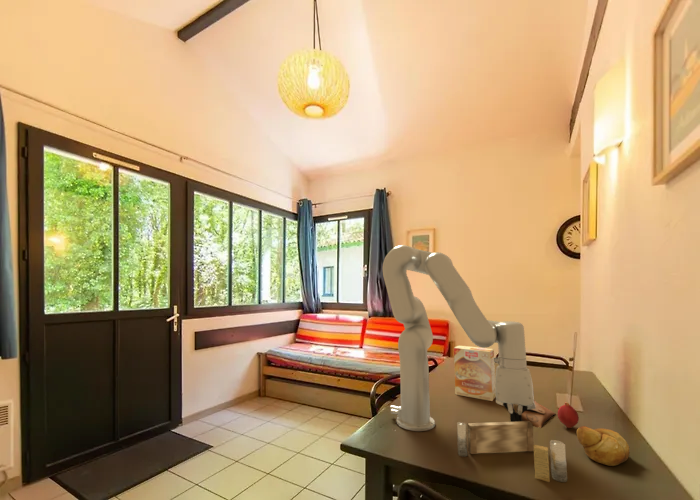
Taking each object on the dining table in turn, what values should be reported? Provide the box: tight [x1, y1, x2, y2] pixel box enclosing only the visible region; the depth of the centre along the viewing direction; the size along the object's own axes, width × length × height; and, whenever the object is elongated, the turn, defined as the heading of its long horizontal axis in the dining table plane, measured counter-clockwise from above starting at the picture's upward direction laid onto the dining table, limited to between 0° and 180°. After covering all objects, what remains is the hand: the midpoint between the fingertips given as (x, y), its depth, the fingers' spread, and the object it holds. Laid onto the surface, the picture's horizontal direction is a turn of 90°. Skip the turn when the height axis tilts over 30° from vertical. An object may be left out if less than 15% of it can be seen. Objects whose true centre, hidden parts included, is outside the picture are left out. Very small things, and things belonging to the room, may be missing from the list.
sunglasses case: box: [522, 399, 557, 429], centre depth 118 cm, size 18×7×7 cm
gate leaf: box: [466, 421, 535, 455], centre depth 93 cm, size 18×2×7 cm, turn 95°
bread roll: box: [576, 425, 631, 467], centre depth 90 cm, size 13×10×8 cm
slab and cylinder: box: [533, 439, 568, 483], centre depth 81 cm, size 7×5×8 cm
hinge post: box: [456, 421, 468, 458], centre depth 92 cm, size 2×2×8 cm
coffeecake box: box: [453, 345, 496, 402], centre depth 141 cm, size 15×7×20 cm, turn 56°
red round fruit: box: [556, 401, 580, 429], centre depth 109 cm, size 6×6×8 cm
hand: (516, 426), depth 100 cm, fingers closed
